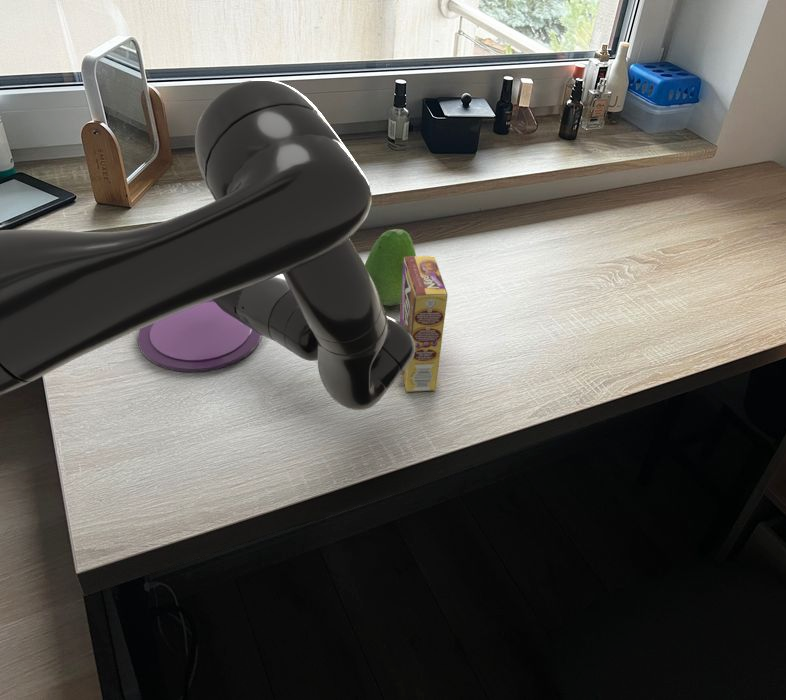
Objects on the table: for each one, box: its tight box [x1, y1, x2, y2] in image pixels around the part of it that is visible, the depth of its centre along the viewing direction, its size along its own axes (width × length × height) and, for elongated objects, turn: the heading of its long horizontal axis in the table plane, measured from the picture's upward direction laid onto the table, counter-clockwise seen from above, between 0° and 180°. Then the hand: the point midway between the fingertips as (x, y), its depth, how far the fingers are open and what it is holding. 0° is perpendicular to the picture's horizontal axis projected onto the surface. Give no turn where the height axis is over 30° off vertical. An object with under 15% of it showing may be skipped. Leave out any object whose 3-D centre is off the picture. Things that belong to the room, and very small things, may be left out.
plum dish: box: [137, 300, 263, 373], centre depth 98 cm, size 16×16×1 cm
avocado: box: [364, 228, 417, 307], centre depth 105 cm, size 8×8×12 cm
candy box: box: [398, 255, 449, 393], centre depth 92 cm, size 9×4×15 cm, turn 13°
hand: (177, 246), depth 92 cm, fingers closed on supplement bottle, 4 cm apart
